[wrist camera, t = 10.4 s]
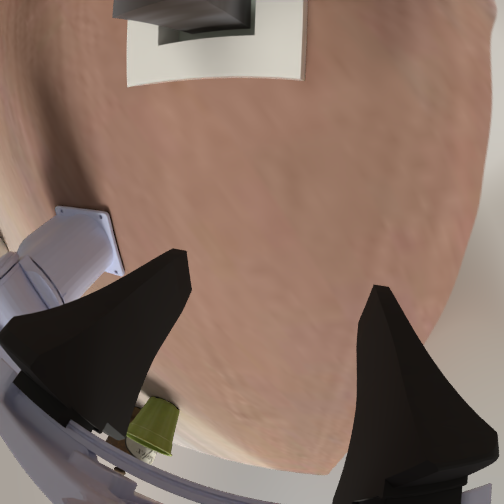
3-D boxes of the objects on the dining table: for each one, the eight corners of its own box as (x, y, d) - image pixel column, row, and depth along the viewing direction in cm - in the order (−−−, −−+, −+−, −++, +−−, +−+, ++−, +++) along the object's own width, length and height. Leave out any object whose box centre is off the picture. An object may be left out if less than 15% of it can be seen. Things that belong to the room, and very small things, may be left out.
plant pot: (148, 404, 56) (130, 439, 47) (136, 383, 49) (113, 424, 40) (192, 421, 54) (175, 460, 45) (186, 404, 48) (165, 450, 39)
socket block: (152, 84, 16) (127, 86, 14) (157, -34, 10) (135, -44, 8) (304, 81, 14) (300, 79, 12) (307, -54, 8) (302, -73, 6)
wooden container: (178, 432, 67) (151, 490, 49) (144, 421, 73) (118, 472, 55) (149, 410, 60) (117, 475, 42) (116, 399, 66) (85, 454, 48)
